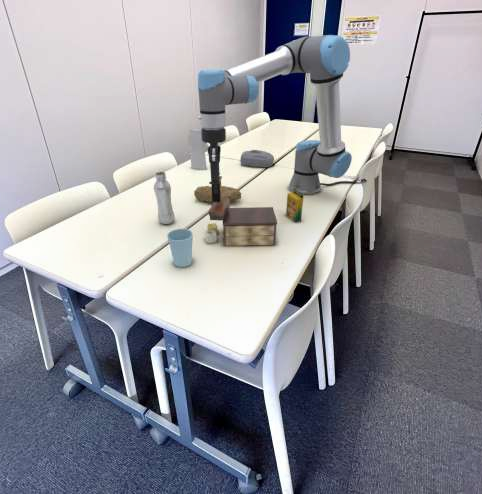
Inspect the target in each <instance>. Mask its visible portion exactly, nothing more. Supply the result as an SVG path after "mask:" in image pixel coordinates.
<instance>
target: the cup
mask: <svg viewBox="0 0 482 494" xmlns="http://www.w3.org/2000/svg"><path fill="white" fill-rule="evenodd" d="M193 235H194V234H193V231H192V230H191V229H188V228H175V229H171V230H169V232H168V233H167V235H166V237H167V241H168V244H169V248H170V252H171V256H172V259H173V263H174V265H175V266H176V267H177V268H185V267H189V266H190V265H191V264H192V262H193Z"/></svg>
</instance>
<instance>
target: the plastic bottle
mask: <svg viewBox="0 0 482 494" xmlns="http://www.w3.org/2000/svg"><path fill="white" fill-rule="evenodd" d="M153 191H154V195H155V198H156V204H157V219H158V221H159V223H160V224H162V225H169V224H173V222H174V221H175V217H176V216H175V212H174V208H173V203H172V186H171V184H170V182H169V181H168V180H167V174H166V172H165V171H158V172H155V182H154V184H153Z"/></svg>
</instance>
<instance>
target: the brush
mask: <svg viewBox="0 0 482 494" xmlns="http://www.w3.org/2000/svg"><path fill="white" fill-rule="evenodd" d="M221 176H222V175H219V181H220V202H212V205H211V206H210V207H209V209H208V216H209V220H210V221H219V222H220V221H222V222H223V220H224V218H225V216H226V214H227V212H228V209H229V208H230V204H231V202H230V199H222V187H221V186H222V179H221Z"/></svg>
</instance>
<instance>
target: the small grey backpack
mask: <svg viewBox="0 0 482 494" xmlns="http://www.w3.org/2000/svg"><path fill="white" fill-rule="evenodd" d="M239 161H240V165H241V166H245V167H249V168H271V167H272V166H273V165H274V163H275V157H274V155H273V154H272V153H270V152H268V151H265V150H260V149H252V150H244V151H243V152H242V153H241V155H240V160H239Z"/></svg>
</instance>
